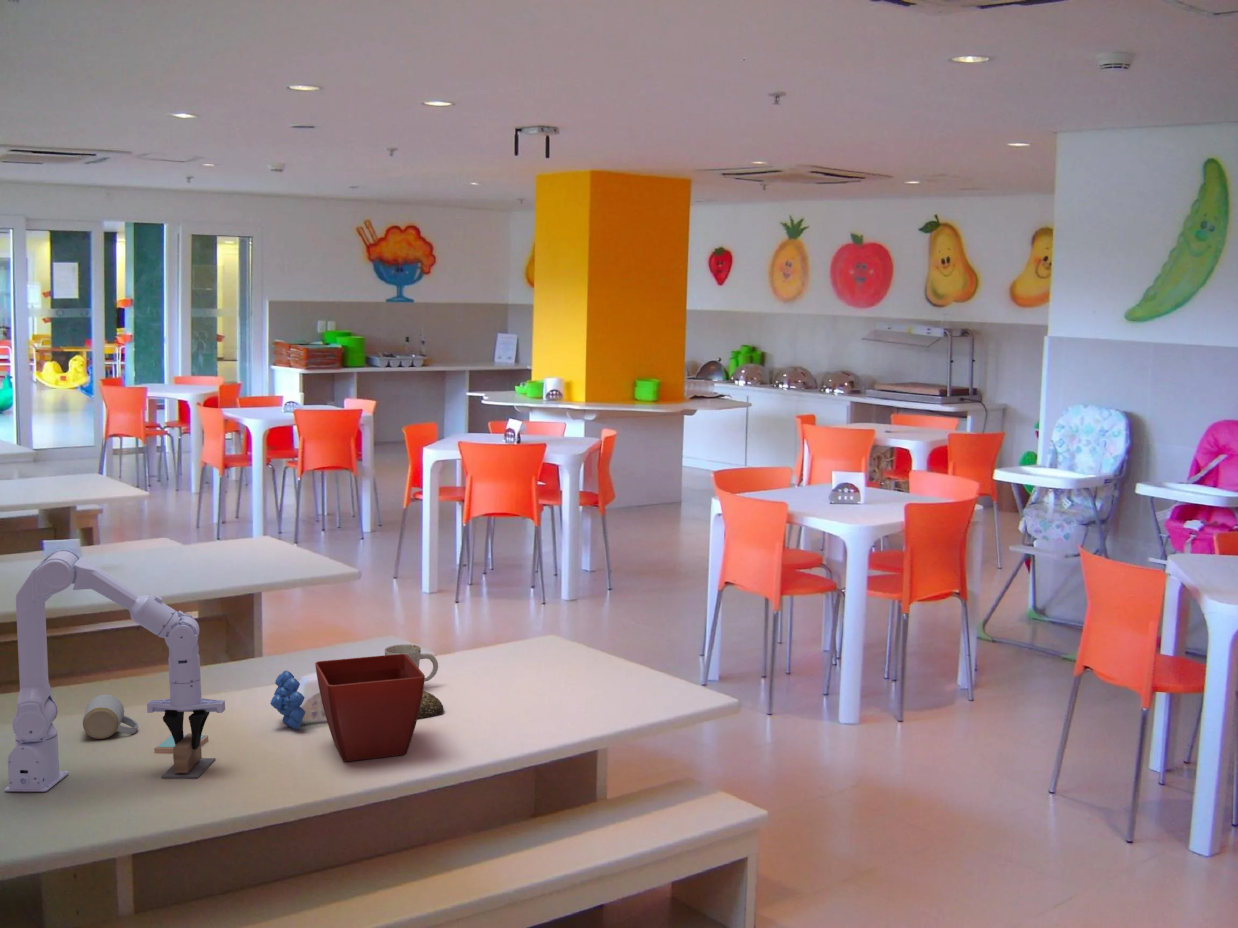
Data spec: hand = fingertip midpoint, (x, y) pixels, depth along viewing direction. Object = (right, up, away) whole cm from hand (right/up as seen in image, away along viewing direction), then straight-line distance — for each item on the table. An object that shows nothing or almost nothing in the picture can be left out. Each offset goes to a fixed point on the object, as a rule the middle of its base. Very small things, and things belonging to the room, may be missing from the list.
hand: (188, 747), depth 245 cm
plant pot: (+33, -3, +12) cm, 35 cm away
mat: (0, -4, +1) cm, 4 cm away
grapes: (+12, -2, +25) cm, 28 cm away
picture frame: (-6, -3, +9) cm, 12 cm away
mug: (+35, +2, +53) cm, 63 cm away
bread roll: (+38, -1, +36) cm, 53 cm away
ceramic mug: (-24, -2, +22) cm, 32 cm away
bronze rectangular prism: (0, -3, 0) cm, 3 cm away
